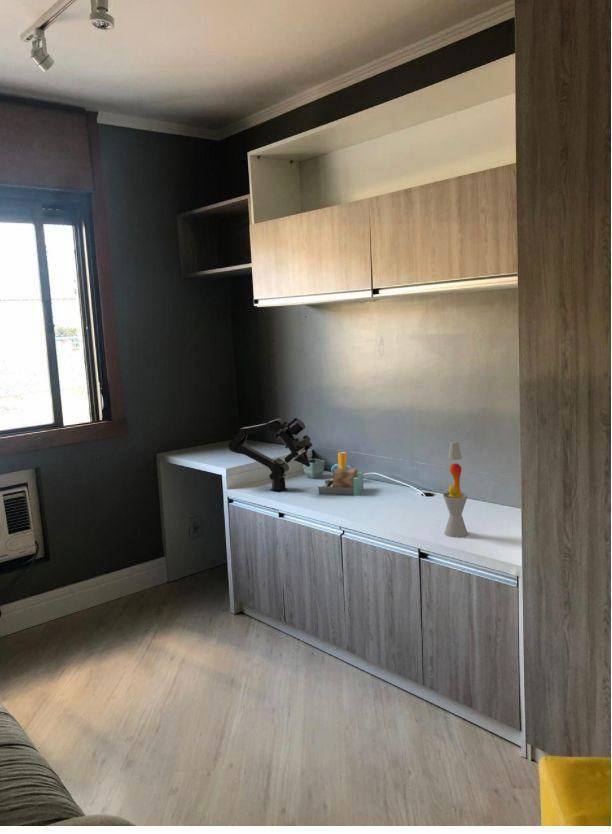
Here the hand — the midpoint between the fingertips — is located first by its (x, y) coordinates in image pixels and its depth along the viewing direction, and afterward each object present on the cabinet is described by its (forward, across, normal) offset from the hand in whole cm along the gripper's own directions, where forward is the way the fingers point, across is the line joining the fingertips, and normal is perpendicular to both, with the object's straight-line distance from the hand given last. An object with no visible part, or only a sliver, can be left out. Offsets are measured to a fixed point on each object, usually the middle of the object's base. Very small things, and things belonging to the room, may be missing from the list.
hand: (309, 466), depth 323 cm
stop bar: (+24, +5, -10) cm, 27 cm away
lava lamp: (+56, -38, -63) cm, 93 cm away
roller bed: (+18, +3, -3) cm, 19 cm away
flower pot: (+5, +25, +20) cm, 33 cm away
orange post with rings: (+16, +22, +5) cm, 28 cm away
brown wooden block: (+18, +4, -7) cm, 20 cm away
